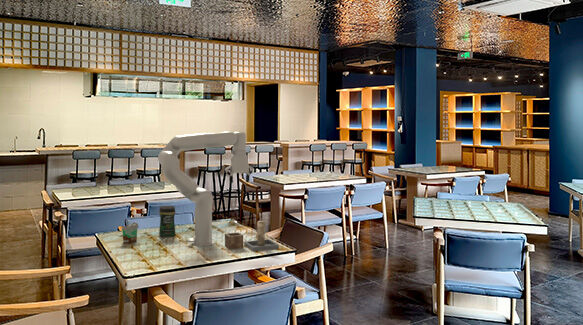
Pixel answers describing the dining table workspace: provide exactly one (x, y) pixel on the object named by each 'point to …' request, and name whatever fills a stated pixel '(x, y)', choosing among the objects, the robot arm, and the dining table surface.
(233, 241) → the brown wooden cube
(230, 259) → the dining table surface
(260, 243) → the beech pin
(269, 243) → the charcoal tray
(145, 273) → the dining table surface
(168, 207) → the coffee jar
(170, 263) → the dining table surface
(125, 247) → the dining table surface
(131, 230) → the food container
